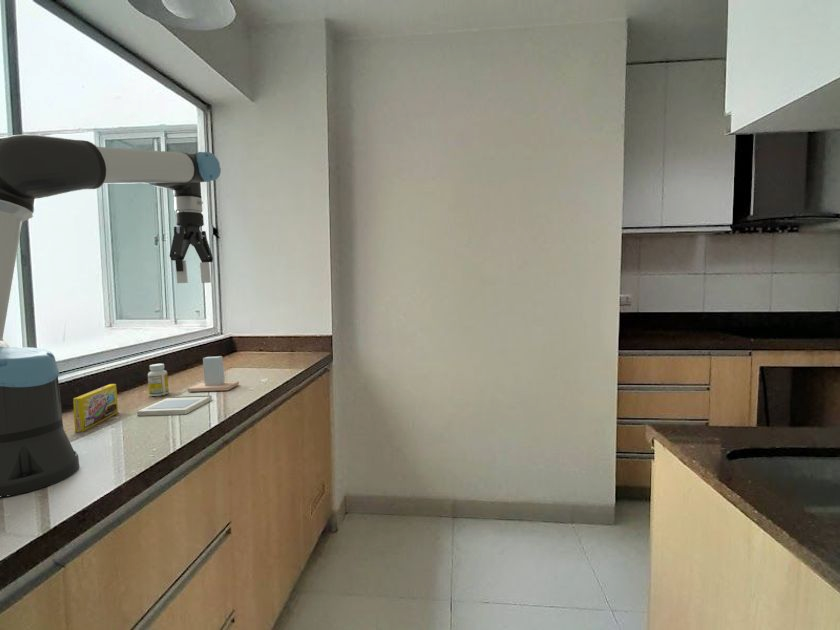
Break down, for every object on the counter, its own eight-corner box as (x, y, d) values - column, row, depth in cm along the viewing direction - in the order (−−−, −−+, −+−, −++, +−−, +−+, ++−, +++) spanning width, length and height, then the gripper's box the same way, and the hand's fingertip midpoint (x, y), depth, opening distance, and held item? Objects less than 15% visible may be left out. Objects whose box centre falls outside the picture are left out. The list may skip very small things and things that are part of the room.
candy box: (84, 432, 106) (80, 398, 106) (74, 433, 106) (70, 398, 105) (119, 412, 122) (116, 383, 122) (111, 413, 122) (108, 383, 121)
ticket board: (185, 414, 117) (185, 409, 117) (137, 415, 118) (136, 410, 118) (211, 399, 131) (211, 395, 131) (168, 401, 132) (168, 396, 132)
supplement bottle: (156, 397, 137) (153, 366, 137) (145, 396, 140) (142, 365, 139) (172, 393, 142) (170, 363, 141) (162, 391, 145) (159, 362, 144)
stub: (227, 390, 142) (225, 359, 141) (187, 391, 142) (185, 360, 141) (238, 384, 150) (236, 354, 149) (200, 385, 150) (198, 356, 149)
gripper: (177, 205, 123) (184, 282, 124) (220, 217, 148) (225, 282, 149) (151, 206, 123) (158, 283, 125) (198, 219, 148) (203, 283, 149)
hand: (195, 283), depth 137 cm, fingers open, 13 cm apart
